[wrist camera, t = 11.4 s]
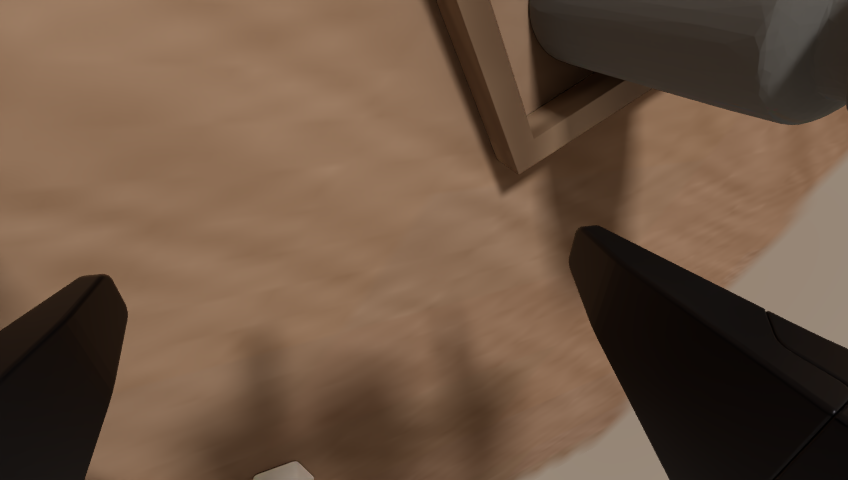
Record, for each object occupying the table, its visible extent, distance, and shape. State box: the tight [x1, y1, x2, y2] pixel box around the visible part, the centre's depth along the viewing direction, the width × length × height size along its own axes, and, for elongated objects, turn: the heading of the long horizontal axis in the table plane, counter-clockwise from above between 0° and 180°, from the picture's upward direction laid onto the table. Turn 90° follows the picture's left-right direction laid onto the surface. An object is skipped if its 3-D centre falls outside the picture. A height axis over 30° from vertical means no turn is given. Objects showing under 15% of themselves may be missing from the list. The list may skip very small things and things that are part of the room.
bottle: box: [529, 0, 848, 125], centre depth 14 cm, size 6×6×15 cm
